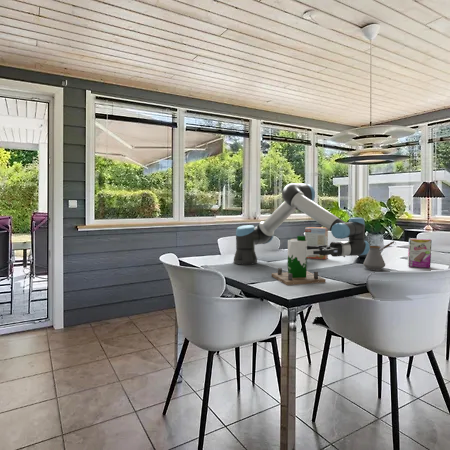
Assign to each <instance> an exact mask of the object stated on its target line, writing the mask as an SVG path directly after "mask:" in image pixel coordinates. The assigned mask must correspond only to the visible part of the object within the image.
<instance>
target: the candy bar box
mask: <svg viewBox="0 0 450 450" xmlns="http://www.w3.org/2000/svg"><path fill="white" fill-rule="evenodd" d="M407 249H408V251H407V253H408V254H407V267H408V268H421V269H422V268H423V269H431V260H432V259H431V258H432V239H430V238H416V237H415V238H413V237H412V238H411V237H408V247H407Z"/></svg>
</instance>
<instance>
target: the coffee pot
mask: <svg viewBox="0 0 450 450" xmlns="http://www.w3.org/2000/svg"><path fill="white" fill-rule="evenodd" d="M393 244H397V243H396V241H392V242H390V243H388V244H386V245H385V246H383V247H382V246H379V245H369V246H370V250H369V252H368V253H367V254H366V256H365V259H364V261H363V263H362V264H363V265H364V267H365V268H366V270H370V271H381V270H382V269H384V268H385V267H386V263H385V260H384V258H383V255H382V253H381V251H383V250H384V249H386V248H388V247H390V246H391V245H393Z"/></svg>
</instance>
